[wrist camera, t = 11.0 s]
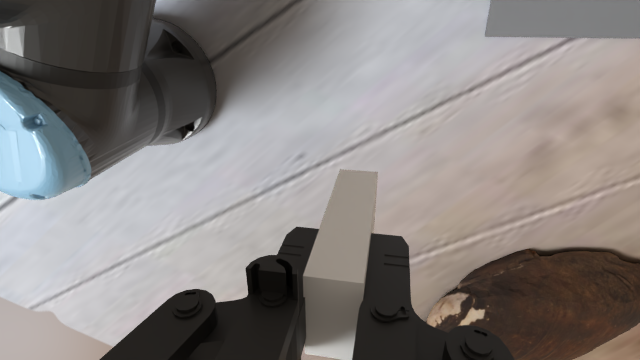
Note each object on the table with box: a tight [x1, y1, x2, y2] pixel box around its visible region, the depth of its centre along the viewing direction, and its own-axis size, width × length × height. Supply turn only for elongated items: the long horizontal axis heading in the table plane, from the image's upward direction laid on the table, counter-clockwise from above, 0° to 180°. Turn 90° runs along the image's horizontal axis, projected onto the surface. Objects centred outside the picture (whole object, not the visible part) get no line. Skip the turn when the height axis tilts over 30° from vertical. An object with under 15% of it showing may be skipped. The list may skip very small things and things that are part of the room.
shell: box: [426, 249, 640, 360], centre depth 51 cm, size 34×20×8 cm, turn 126°
